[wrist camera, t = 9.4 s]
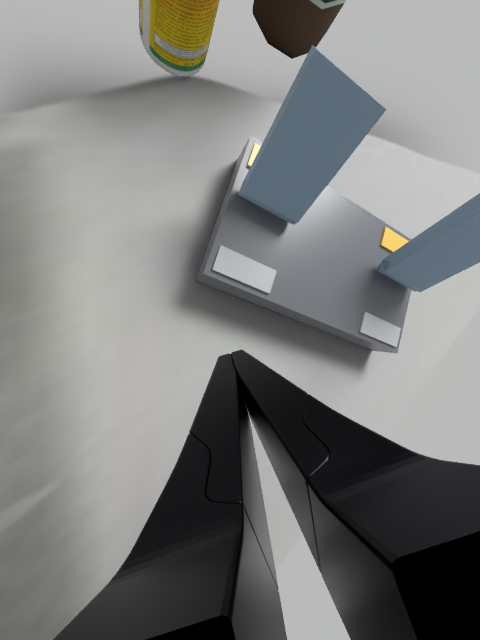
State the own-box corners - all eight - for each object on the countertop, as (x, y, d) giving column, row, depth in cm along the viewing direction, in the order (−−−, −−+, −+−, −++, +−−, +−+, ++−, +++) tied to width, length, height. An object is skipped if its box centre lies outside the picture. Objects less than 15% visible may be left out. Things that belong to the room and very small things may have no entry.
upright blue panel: (414, 295, 25) (529, 237, 19) (378, 276, 24) (491, 204, 17) (410, 282, 26) (519, 223, 19) (376, 263, 25) (482, 191, 18)
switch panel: (372, 350, 28) (399, 353, 25) (195, 280, 21) (204, 273, 18) (394, 253, 30) (422, 245, 27) (237, 159, 23) (251, 134, 20)
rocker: (292, 229, 20) (386, 109, 14) (237, 199, 19) (316, 48, 12) (291, 218, 21) (378, 101, 15) (239, 189, 20) (312, 44, 13)
